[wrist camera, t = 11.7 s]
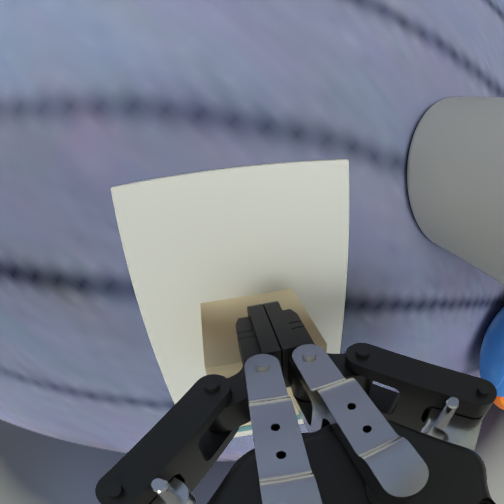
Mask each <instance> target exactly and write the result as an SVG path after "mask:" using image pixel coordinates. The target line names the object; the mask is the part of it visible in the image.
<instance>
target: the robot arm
mask: <svg viewBox="0 0 504 504" xmlns="http://www.w3.org/2000/svg"><path fill="white" fill-rule="evenodd" d="M247 314H248V317H243V318H238V320H237V322H236V325H235V327H236V333H237V340H238V346H239V351H240V356H241V360H242V364H243V367H242V369H241V370H240V371H239V372H238V373H237V374H235V375H233V376H231V377H229V378H226V377H224V376H222V375H218V374H210V375H206V376H204V377H202V378H200V379H199V380H198V381H197V382H196V383H195V384H194V385H193V386H192V387H191V388H190V389H189V390H188V391H187V392H186V393H185V395H184V396H183V397H182V398H181V399H180V400H179V401H178V402H177V403H176V404H175V405H174V406H173V407H172V408H171V409H170V410H169V411H168V412H167V413H166V415H165V416H164V417H163V418H162V419H161V420H160V421H159V422H158V423H157V424H156V425H155V426H154V427H153V428H152V429H151V430H150V431H149V432H148V433H147V434H146V435H145V436H144V437H143V438H142V439H141V440H140V441H139V442H138V443H137V444H136V445H135V446H134V447H133V448H132V449H131V450H130V451H129V452H128V453H127V454H126V455H125V456H124V457H123V458H122V459H121V460H120V461H119V462H118V463H117V464H116V465H115V466H114V467H113V468H112V469H111V470H110V471H109V472H107V473H106V474H105V475H104V476H103V477H102V478H101V479H100V480H99V482H98V483H97V486H96V491H95V492H96V496H97V499H98V500H99V502H100V503H101V504H196V499H195V497H194V496H193V494H192V493H191V492H192V491H193V489H194V488H195V487H196V486H197V484H198V483H199V482H200V481H201V479H202V478H203V477H204V475H205V474H206V473H207V472H208V470H209V469H210V468H211V467H212V465H213V464H214V463H215V461H216V460H217V459H218V458H219V456H220V455H221V454H222V452H223V451H224V450H225V448H226V447H227V445H228V444H229V443H230V441H231V440H232V439H233V437H234V436H235V434H236V433H237V432H238V430H239V427H240V426H242V425H244V424H246V423H248V422H250V421H251V425H252V432H253V440H254V447H255V448H254V449H252V450H251V451H249V452H247V453H246V454H244V455H243V456H242V457H241V458H240V459H238V460H237V462H236V463H235V464H234V465H233V467H232V468H231V469H230V471H229V473H228V474H227V476H226V477H225V479H224V480H223V482H222V483H221V484H220V486H219V487H218V489H217V490H216V492H215V493H214V495H213V496H212V497H211V499H210V500H209V502H208V503H207V504H495V503H494V501H493V500H492V499H491V496H490V493H489V490H488V486H487V475H486V468H485V464H484V462H483V460H482V459H481V457H480V456H479V455H478V454H477V453H476V452H475V451H474V450H475V446H476V442H477V439H478V435H479V431H480V427H481V423H482V419H483V417H484V416H485V414H486V413H487V411H488V410H489V408H490V407H491V405H492V404H493V402H494V401H495V399H496V397H497V390H496V388H495V386H494V385H493V384H492V383H491V382H490V381H488V380H485V379H482V378H478V377H474V376H471V375H467V374H463V373H460V372H456V371H453V370H450V369H446V368H443V367H439V366H436V365H433V364H429V363H426V362H423V361H420V360H416V359H413V358H410V357H407V356H404V355H400V354H397V353H394V352H391V351H388V350H385V349H382V348H379V347H376V346H373V345H370V344H366V343H357V344H354V345H352V346H350V347H349V348H348V349H347V351H346V353H345V354H331V353H326V352H325V350H324V349H323V348H322V347H320V346H317V345H315V344H314V342H313V340H312V338H311V337H310V335H309V333H308V331H307V330H306V328H305V327H304V324H303V322H301V319H300V317H299V315H298V314H297V313H296V312H294V311H293V310H291V309H287V310H282V308H281V306H280V304H279V302H278V301H274V302H269V303H263V305H262V304H258V305H252V306H247ZM373 381H376V382H379V383H382V384H384V385H387V386H390V387H393V388H395V389H397V390H398V391H399V392H400V393H397V392H394V391H391V390H388V389H386V388H383V387H380V386H377V385H375V384H372V382H373ZM287 387H291V390H292V399H291V397H290V396H288V393H287V389H286V388H287ZM292 400H293V402H294V404H295V406H296V408H297V410H298V412H299V414H300V416H301V418H302V420H303V422H304V424H305V426H306V428H307V430H308V433H301V431H300V427H299V424H298V420H297V416H296V413H295V409H294V405H293V402H292Z"/></svg>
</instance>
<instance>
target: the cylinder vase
mask: <svg viewBox="0 0 504 504" xmlns="http://www.w3.org/2000/svg"><path fill="white" fill-rule="evenodd" d="M407 186H408V194H409V200H410V204H411V208H412V211H413V214H414V217H415V219H416V221H417V223H418V225H419V227H420V229H421V230H422V232H423V233H424V234H425V235H426V236H427V238H428V239H430V240H431V241H432V242H433V243H435V244H436V245H438V246H440V247H442V248H443V249H445V250H447V251H449V252H451V253H452V254H454V255H456V256H457V257H459V258H461V259H463V260H464V261H466V262H468V263H469V264H471V265H473V266H474V267H476V268H478V269H479V270H481V271H482V272H484V273H486V274H487V275H489V276H491V277H492V278H494V279H495V280H497V281H498V282H500V283H501V284H503V285H504V98H500V97H449V98H445V99H442V100H440V101H438V102H437V103H435V104H434V105H432V106H431V107H430V108H429V109H428V110H427V111H426V113H425V114H424V115H423V117H422V118H421V120H420V122H419V123H418V125H417V128H416V130H415V132H414V135H413V138H412V141H411V145H410V150H409V156H408V164H407Z"/></svg>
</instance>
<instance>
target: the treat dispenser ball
mask: <svg viewBox="0 0 504 504" xmlns="http://www.w3.org/2000/svg"><path fill="white" fill-rule="evenodd" d="M479 366H480V376H481V378H482V379H485V380H488V381H490V382H491V383H492V384H493V385H494V386H495V388H496V390H497V397H496V399H495V401H494V403H495V404H496V405H497V406H498V407H499V408H501V409H503V410H504V307H503V308H502V309H501V310H500V311H499V312H498V313H497V315H496V316H495V317H494V319H493V320H492V322H491V324H490V325H489V327H488V329H487V331H486V333H485V336H484V339H483V343H482V346H481V352H480V362H479Z"/></svg>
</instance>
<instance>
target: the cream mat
mask: <svg viewBox="0 0 504 504" xmlns="http://www.w3.org/2000/svg"><path fill="white" fill-rule="evenodd" d="M111 193H112V198H113V203H114V209H115V214H116V219H117V223H118V228H119V233H120V237H121V241H122V246H123V250H124V254H125V258H126V262H127V266H128V270H129V273H130V277H131V281H132V284H133V288H134V291H135V295H136V298H137V302H138V305H139V308H140V312H141V315H142V318H143V321H144V324H145V327H146V330H147V333H148V336H149V339H150V342H151V345H152V348H153V350H154V353H155V356H156V359H157V361H158V364H159V367H160V369H161V372H162V375H163V377H164V380H165V382H166V385H167V387H168V390H169V392H170V395H171V397H172V399H173V402H174V404H176V403H177V402H178V401H179V400H180V399H181V398H182V397H183V396H184V395H185V393H186V392H187V391H188V390H189V389H190V388H191V387H192V386H193V385H194V384H195V383H196V382H197V381H198V380H199V379H200V378H202V377H204V376H206V375H207V374H206V371H205V365H204V352H203V338H202V323H201V306H200V303H205V302H211V301H218V300H224V299H231V298H237V297H243V296H249V295H256V294H261V293H267V292H273V291H279V290H285V289H290V288H292V289H293V290H294V292H295V293H296V295H297V297H298V298H299V300H300V301H301V303H302V305H303V306H304V308H305V309H306V311H307V313H308V314H309V316H310V317H311V319H312V321H313V322H314V324H315V325H316V327H317V329H318V330H319V332H320V333H321V335H322V337H323V338H324V340H325V342H326V343H327V351H326V353H331V354H340V347H341V338H342V329H343V319H344V308H345V296H346V282H347V265H348V241H349V160H346V159H334V160H313V161H297V162H283V163H271V164H260V165H250V166H240V167H232V168H223V169H215V170H207V171H200V172H193V173H186V174H180V175H173V176H167V177H161V178H155V179H149V180H144V181H138V182H133V183H128V184H123V185H118V186H113V187H112V188H111ZM302 423H304V422H303V420H302V419H299V420H298V424H302ZM252 434H253V432H252V430H248V431H242V432H237V433H236V434H235V436H234V437H240V436H246V435H252ZM234 437H233V438H234Z"/></svg>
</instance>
